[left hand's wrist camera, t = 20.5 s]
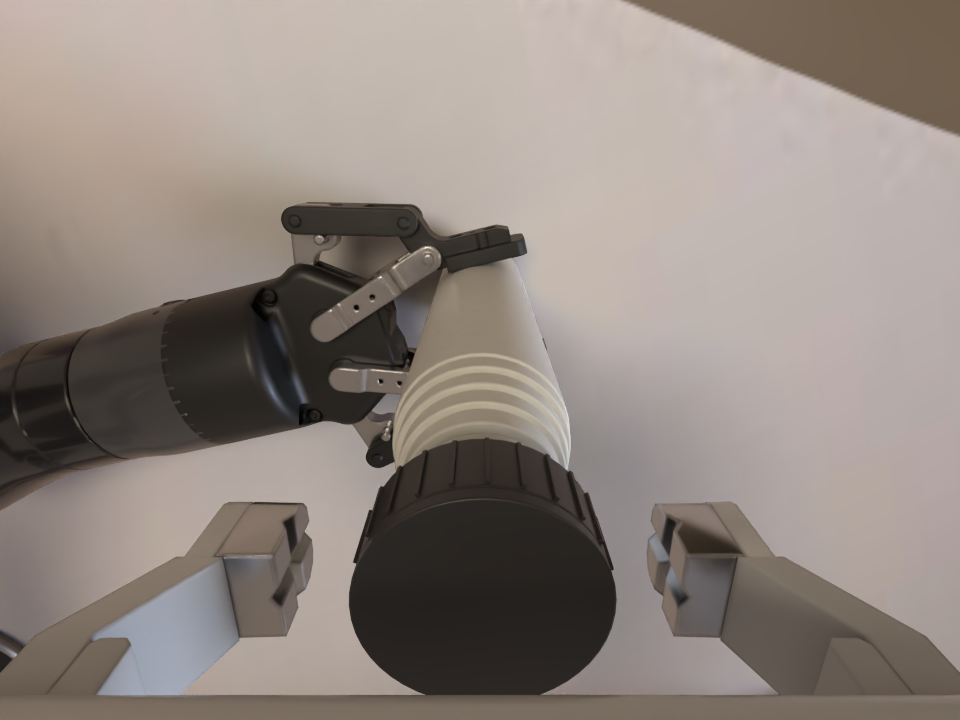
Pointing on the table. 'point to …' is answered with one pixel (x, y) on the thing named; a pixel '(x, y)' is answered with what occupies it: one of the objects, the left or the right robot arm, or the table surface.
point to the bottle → (481, 370)
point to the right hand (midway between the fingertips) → (533, 297)
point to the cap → (482, 573)
